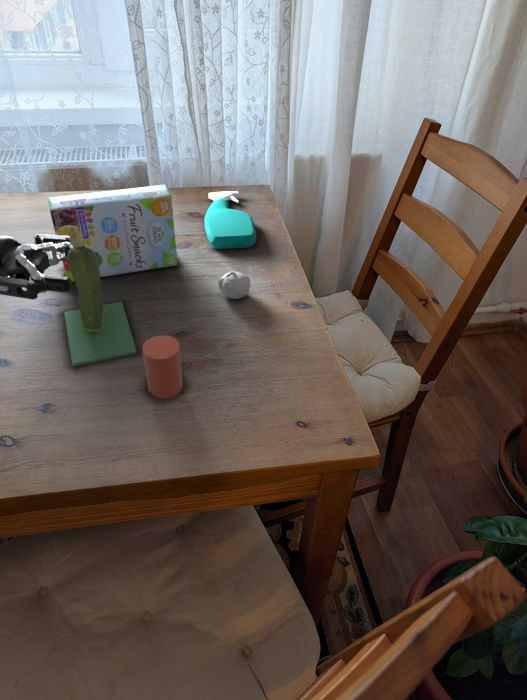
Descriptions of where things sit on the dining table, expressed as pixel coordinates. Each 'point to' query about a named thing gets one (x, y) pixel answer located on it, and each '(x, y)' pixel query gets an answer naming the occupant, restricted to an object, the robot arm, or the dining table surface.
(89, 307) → the vegetable
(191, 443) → the dining table surface
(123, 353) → the green mat
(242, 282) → the garlic
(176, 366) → the orange cylinder block
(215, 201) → the spray bottle
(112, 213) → the snack box
